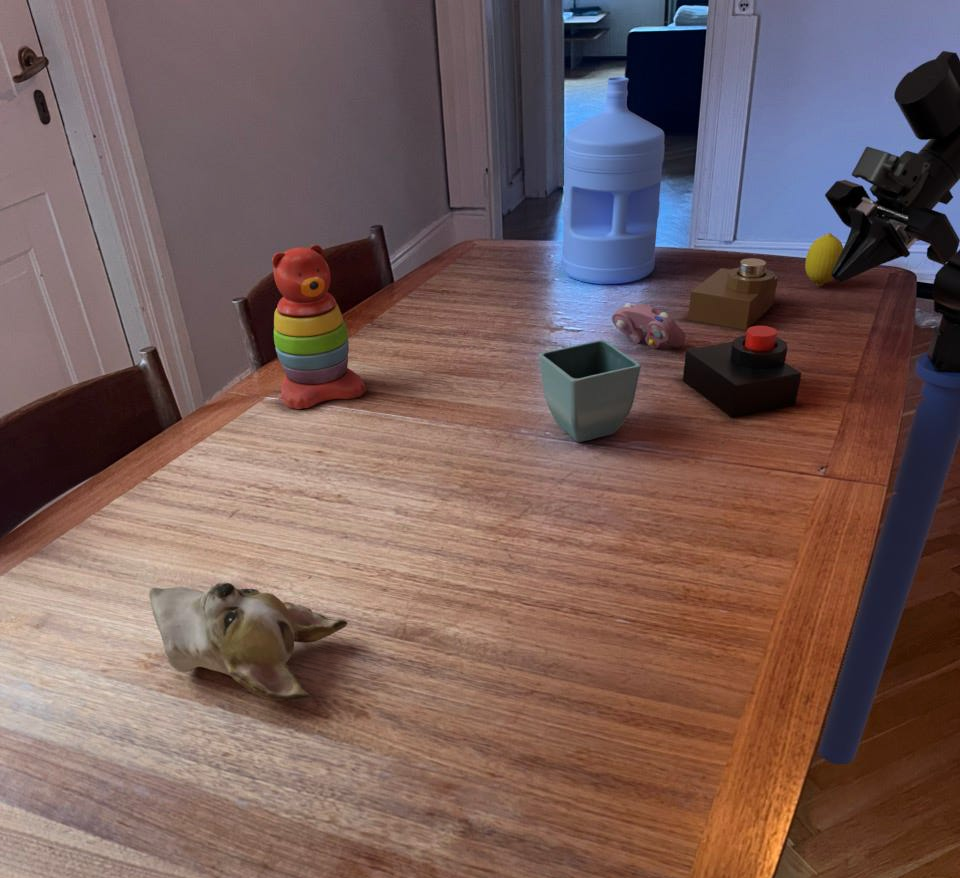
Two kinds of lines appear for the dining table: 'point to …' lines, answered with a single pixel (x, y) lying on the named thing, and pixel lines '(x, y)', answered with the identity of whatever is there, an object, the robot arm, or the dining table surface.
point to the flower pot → (589, 388)
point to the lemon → (823, 258)
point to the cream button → (752, 268)
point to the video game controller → (648, 325)
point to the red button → (761, 338)
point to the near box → (742, 377)
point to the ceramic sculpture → (238, 635)
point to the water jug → (611, 193)
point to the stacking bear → (310, 332)
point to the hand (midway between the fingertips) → (835, 278)
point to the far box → (732, 299)
